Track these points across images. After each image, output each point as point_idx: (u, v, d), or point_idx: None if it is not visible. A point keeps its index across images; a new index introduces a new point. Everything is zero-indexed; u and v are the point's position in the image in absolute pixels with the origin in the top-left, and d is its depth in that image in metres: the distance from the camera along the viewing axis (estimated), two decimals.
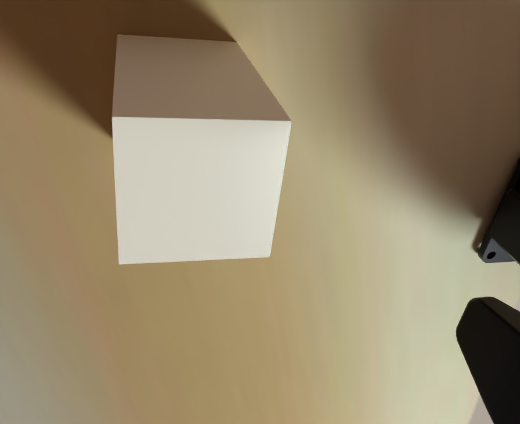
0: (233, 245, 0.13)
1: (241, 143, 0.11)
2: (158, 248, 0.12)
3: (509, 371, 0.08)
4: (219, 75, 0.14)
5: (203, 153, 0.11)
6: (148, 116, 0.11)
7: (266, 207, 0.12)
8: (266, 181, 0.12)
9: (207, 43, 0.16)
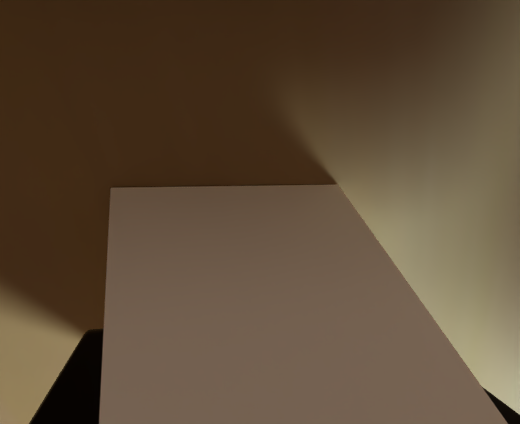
0: None
1: None
2: None
3: None
4: (358, 353, 0.06)
5: None
6: None
7: None
8: None
9: (288, 198, 0.08)
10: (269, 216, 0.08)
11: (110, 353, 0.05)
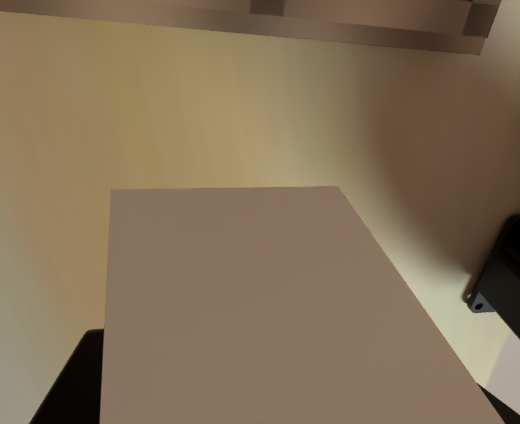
0: None
1: None
2: None
3: None
4: (358, 355, 0.06)
5: None
6: None
7: None
8: None
9: (288, 200, 0.08)
10: (269, 218, 0.08)
11: (110, 355, 0.05)
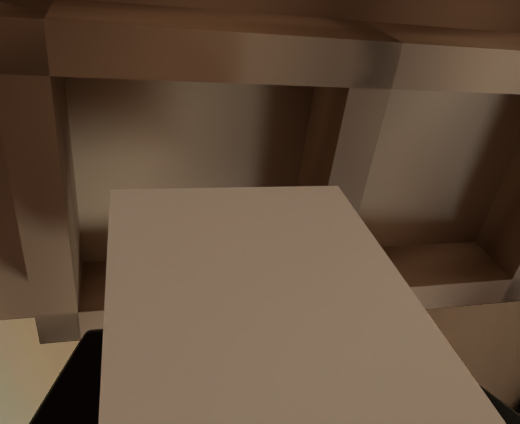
0: None
1: None
2: None
3: None
4: (358, 355, 0.06)
5: None
6: None
7: None
8: None
9: (288, 200, 0.08)
10: (269, 217, 0.08)
11: (109, 355, 0.05)
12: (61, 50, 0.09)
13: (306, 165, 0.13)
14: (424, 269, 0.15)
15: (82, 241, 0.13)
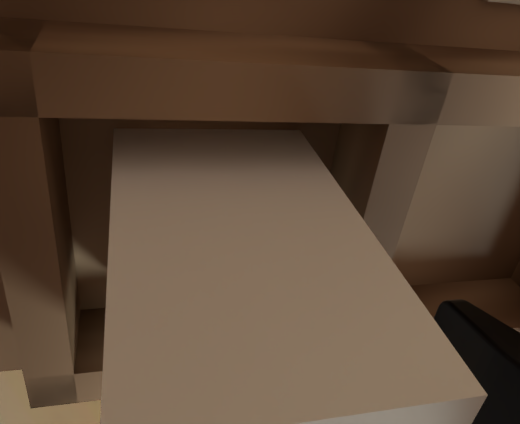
0: None
1: None
2: None
3: (477, 375, 0.08)
4: (297, 230, 0.08)
5: None
6: None
7: None
8: None
9: (257, 138, 0.10)
10: (240, 149, 0.10)
11: (115, 224, 0.07)
12: (52, 87, 0.07)
13: None
14: None
15: (79, 288, 0.12)
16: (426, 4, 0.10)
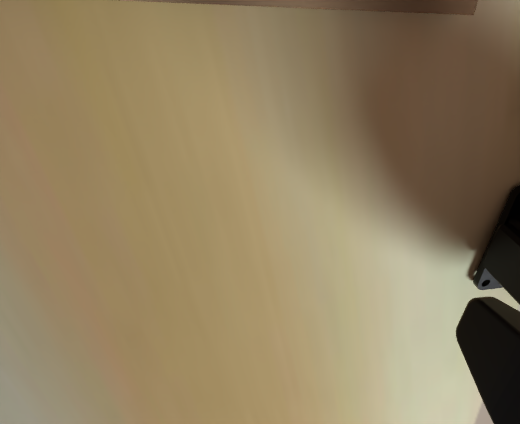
0: None
1: None
2: None
3: (509, 371, 0.08)
4: None
5: None
6: None
7: None
8: None
9: None
10: None
11: None
12: None
13: None
14: None
15: None
16: None
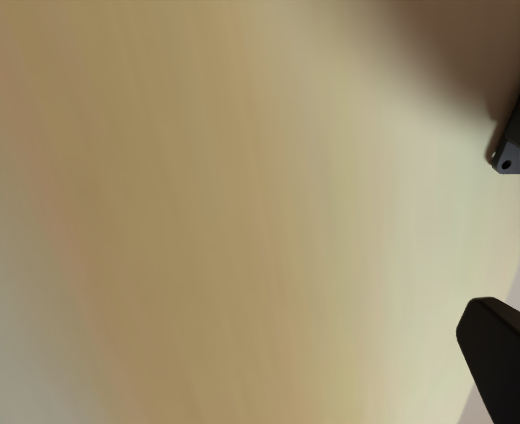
0: None
1: None
2: None
3: (509, 371, 0.08)
4: None
5: None
6: None
7: None
8: None
9: None
10: None
11: None
12: None
13: None
14: None
15: None
16: None
